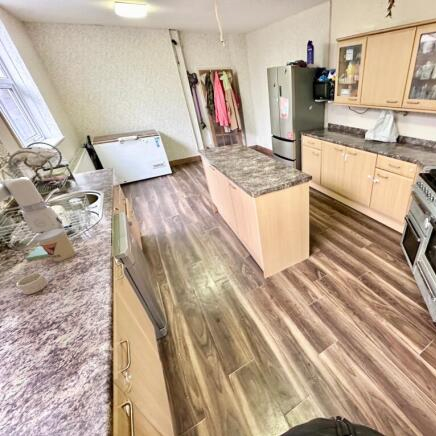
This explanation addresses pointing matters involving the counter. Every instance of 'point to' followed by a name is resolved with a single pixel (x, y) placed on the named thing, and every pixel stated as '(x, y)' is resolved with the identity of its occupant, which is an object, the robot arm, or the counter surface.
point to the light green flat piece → (37, 253)
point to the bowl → (32, 283)
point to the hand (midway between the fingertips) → (57, 240)
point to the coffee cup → (56, 244)
